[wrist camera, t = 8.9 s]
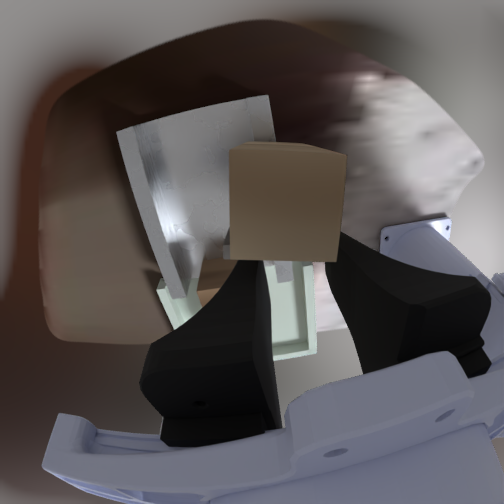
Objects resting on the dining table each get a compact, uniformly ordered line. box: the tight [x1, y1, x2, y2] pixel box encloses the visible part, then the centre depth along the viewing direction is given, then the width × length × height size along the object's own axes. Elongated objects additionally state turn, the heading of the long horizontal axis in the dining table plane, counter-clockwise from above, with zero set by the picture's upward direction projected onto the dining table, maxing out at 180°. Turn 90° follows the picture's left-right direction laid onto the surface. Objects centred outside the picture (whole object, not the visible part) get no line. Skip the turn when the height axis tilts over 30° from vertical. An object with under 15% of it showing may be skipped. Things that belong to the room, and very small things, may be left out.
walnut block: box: [196, 257, 238, 308], centre depth 22 cm, size 4×4×4 cm
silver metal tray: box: [116, 95, 294, 299], centre depth 20 cm, size 13×10×3 cm
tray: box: [156, 261, 317, 361], centre depth 26 cm, size 11×13×2 cm
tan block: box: [223, 141, 347, 262], centre depth 12 cm, size 6×5×9 cm
